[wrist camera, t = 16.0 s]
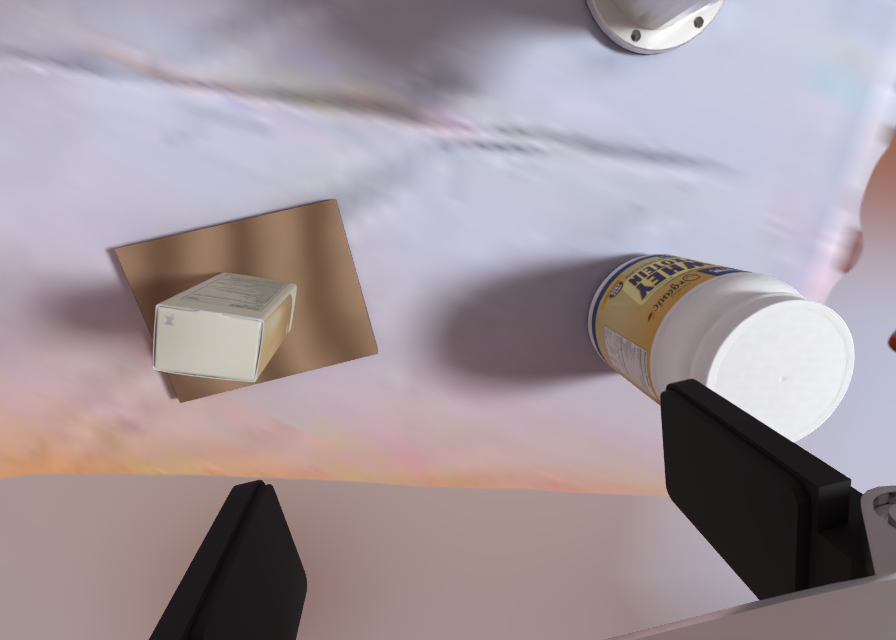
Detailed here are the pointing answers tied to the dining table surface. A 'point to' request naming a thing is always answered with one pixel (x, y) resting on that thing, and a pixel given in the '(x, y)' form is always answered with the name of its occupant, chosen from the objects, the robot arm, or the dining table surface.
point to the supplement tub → (724, 339)
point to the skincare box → (223, 327)
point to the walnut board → (273, 257)
